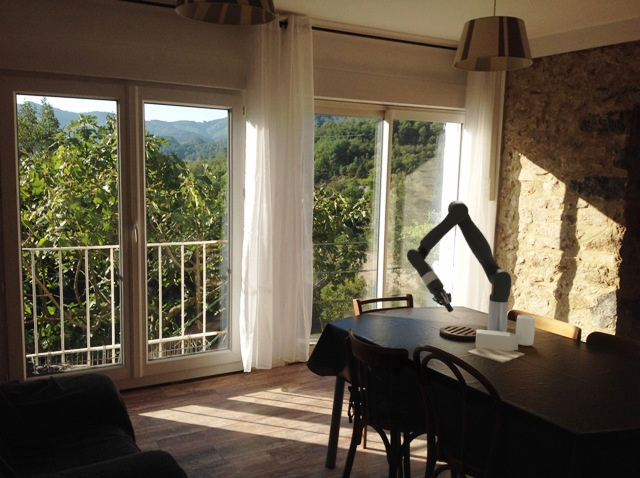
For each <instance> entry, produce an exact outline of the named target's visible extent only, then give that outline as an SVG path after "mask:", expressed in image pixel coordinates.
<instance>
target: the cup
mask: <svg viewBox="0 0 640 478" xmlns="http://www.w3.org/2000/svg"><path fill="white" fill-rule="evenodd" d="M535 331H536V319H535V316H533V315H527V314H518V315H517V317H516V324H515V334H516V335H519V340H518V345H521V346H533V345H534V341H535V340H534V339H535Z"/></svg>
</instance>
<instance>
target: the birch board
mask: <svg viewBox="0 0 640 478" xmlns="http://www.w3.org/2000/svg"><path fill="white" fill-rule="evenodd" d="M467 353H469V354H472V355H475V356H478V357H480V358H481V357H482V358H485V359H488V360H492V361H496V362H498V363H501V364H504V363H506V362H509V361H512V360H515V359H517V358H520V357H524V356H525V353H522V352H520V351H517V350H512V351H503V350H492V349H482V348H476V347H475V348H474V349H471V350H467Z"/></svg>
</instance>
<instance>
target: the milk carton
mask: <svg viewBox="0 0 640 478" xmlns="http://www.w3.org/2000/svg"><path fill="white" fill-rule="evenodd" d="M518 340H519V335H516V333H512V332H510V331H508V332H501V331H489V330H487V329H476V333H475V349H476V348H482V349H492V350H503V351H518V350H519V344H518Z"/></svg>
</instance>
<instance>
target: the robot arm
mask: <svg viewBox="0 0 640 478" xmlns="http://www.w3.org/2000/svg"><path fill="white" fill-rule="evenodd" d="M456 226H458V228H459V230H460V232H461V233H462V236H463V238H464V240H465V243H466V244H467V245H468V247H469V250H470V251H471V252H472V254H473V256H474V258H476V260H477V261H478V263H479V264H480V265H481V267H482V269H483V271H484V273H485V276H486V277H487V278H486V279H487V280H488V282H489V283H490V284H491V285H492V286H493V288H492V293H490V294H489V299H488V301H489V302H488V313H487V315H488V317H487V328H486V330H489V331H501V332H507V331H508V305H509V298H510V295H511V289H512V288H511V287H512V277H511V274H510V273H509V271H506V270H503V269H502V268H501V267H500V266H499V265H498V264H497V261H496V260H495V259H494V255H493V252H492V248H491V246H490V243H489V242H488V240H487V238H486V237H485V235H484V233H483V232H482V230H481V229H480V228H479V227H478V226H477V225H476V224H475V223H474V221H473V220H472V217H471V216H470V213H469V208H468V206H467V204H465V203H464V202H463V201H461V200H453V201H451V202H450V203H449V204H448V207H447V214H446V215H445V217H444V219H443V220H441V222H439V224H437V225H435V226H434V227H433V228H432V229H431V230H430V231H428V232H427V234H426V235H424V236H423V238H422V239H421V240H420V241H419V246H418V247H417V248H410V249H408V251H407V253H406V258H407V260H408V262H409V264H410V265H411V266H412V267H413V268H414V269H415V271H416V272H417V273H418V275H419V276H420V278H421V280H422V282H423V284H424V286H425V288H427V290H428V292H429V293H430V295H433V297H432V298H431V299H432V301H434V302H435V303H436V304H438V305H439V306H441V307H442V306H443V307H445V309H446V311H447V312H448V313H452V312H453V311H454V308H453V306H452V305H451V303H452V294H451V292H449V293H448V292H447V291H446V290H445V288H444V284H443V281H441V279H440V278H439V277H438V275H437V273H436V272H435V271H434V270H433V268H432V267H431V265H430V264H429V263H428V262H426V261H425V260H426V259H427V257H428V255H429V254H430V252H431V251H432V250H433V249H434V247H435V246H436V245H437V244H438V243H439V242H440V241H441V240H442V239H443V238H444V237H445V236H446V235H447V234H448V233H449V232H450V231H451V230H452V229H453V228H455V227H456Z"/></svg>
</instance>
